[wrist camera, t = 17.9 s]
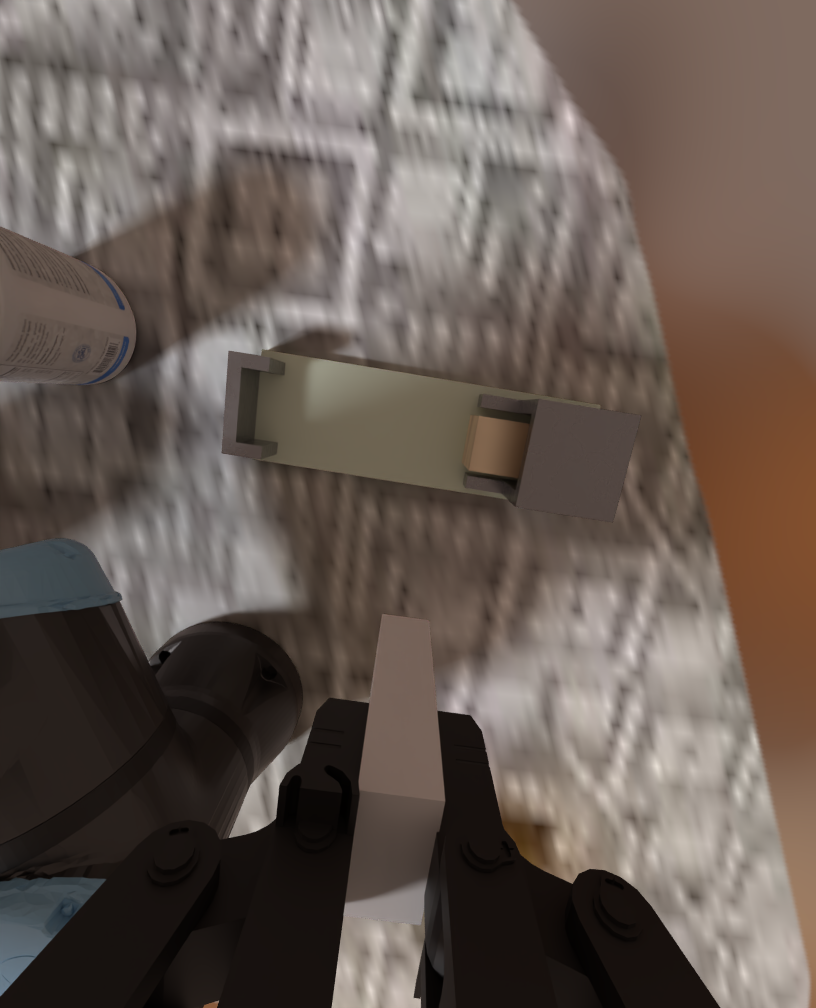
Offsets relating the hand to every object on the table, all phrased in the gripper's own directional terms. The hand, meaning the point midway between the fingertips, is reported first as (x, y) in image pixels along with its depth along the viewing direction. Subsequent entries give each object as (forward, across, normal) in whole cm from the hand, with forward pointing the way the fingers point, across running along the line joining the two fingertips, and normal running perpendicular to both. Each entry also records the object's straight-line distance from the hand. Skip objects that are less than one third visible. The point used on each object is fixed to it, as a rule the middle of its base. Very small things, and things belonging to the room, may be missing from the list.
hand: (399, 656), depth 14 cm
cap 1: (+25, -13, +6) cm, 29 cm away
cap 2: (+25, +10, +6) cm, 27 cm away
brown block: (+25, +8, +6) cm, 27 cm away
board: (+26, +1, +6) cm, 26 cm away
